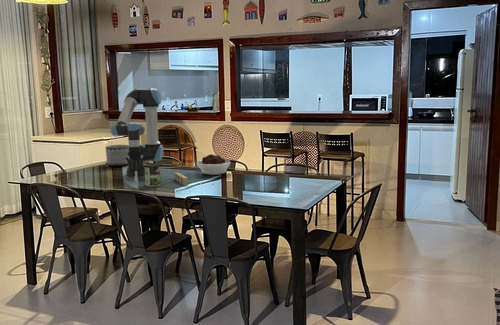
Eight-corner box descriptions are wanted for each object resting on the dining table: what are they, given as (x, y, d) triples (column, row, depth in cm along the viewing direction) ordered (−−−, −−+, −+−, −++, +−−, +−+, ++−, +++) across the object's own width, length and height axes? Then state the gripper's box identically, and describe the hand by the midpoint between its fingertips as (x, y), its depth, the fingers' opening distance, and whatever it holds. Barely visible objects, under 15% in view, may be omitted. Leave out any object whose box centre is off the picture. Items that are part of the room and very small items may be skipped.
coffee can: (162, 183, 334) (161, 163, 332) (157, 186, 324) (156, 166, 322) (148, 183, 336) (147, 163, 334) (142, 186, 326) (141, 165, 324)
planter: (102, 167, 403) (101, 147, 400) (112, 163, 422) (111, 144, 419) (124, 167, 400) (123, 147, 397) (133, 163, 419) (132, 144, 416)
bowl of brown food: (225, 170, 382) (225, 151, 380) (234, 175, 359) (234, 155, 356) (194, 172, 374) (193, 153, 372) (201, 178, 351) (200, 157, 348)
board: (174, 179, 348) (174, 172, 347) (178, 179, 349) (178, 172, 348) (183, 185, 328) (183, 178, 327) (187, 184, 329) (187, 177, 328)
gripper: (125, 147, 315) (127, 182, 319) (145, 146, 321) (147, 181, 324) (123, 146, 322) (125, 180, 326) (143, 144, 327) (144, 179, 331)
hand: (136, 180), depth 325 cm, fingers closed
